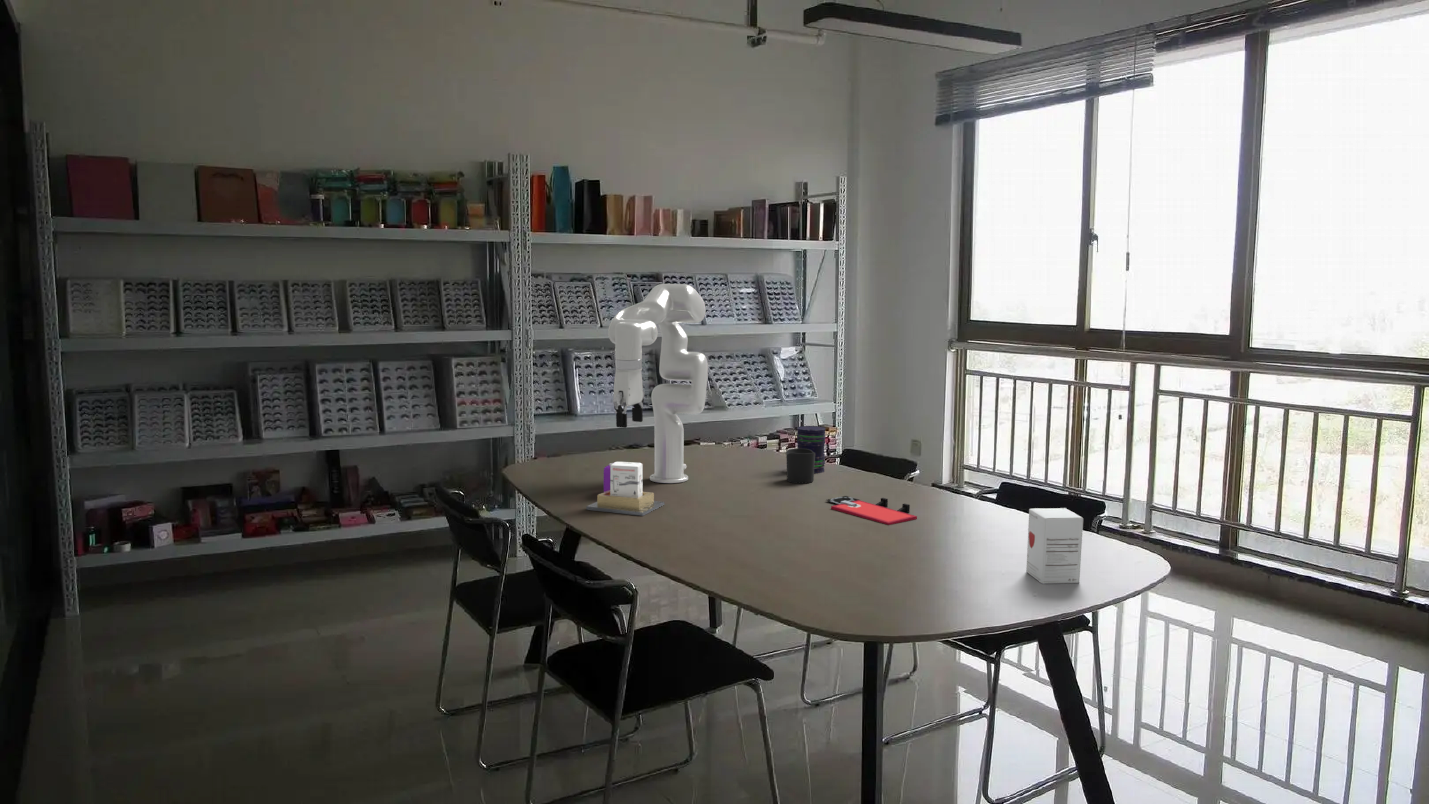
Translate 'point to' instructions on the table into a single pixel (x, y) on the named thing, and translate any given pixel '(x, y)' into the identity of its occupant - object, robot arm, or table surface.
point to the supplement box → (1054, 545)
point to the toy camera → (607, 477)
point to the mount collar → (625, 504)
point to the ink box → (626, 479)
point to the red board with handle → (872, 510)
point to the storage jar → (813, 443)
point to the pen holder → (800, 465)
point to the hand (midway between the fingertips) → (629, 424)
